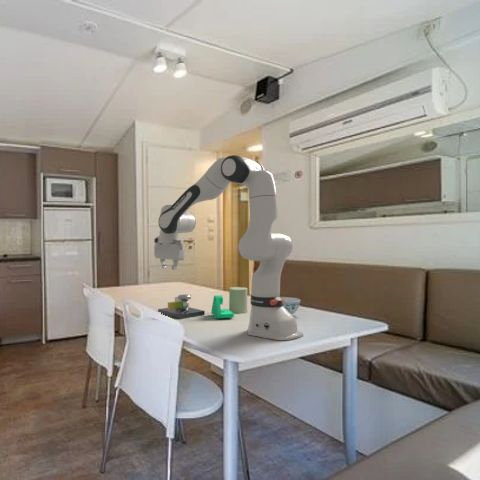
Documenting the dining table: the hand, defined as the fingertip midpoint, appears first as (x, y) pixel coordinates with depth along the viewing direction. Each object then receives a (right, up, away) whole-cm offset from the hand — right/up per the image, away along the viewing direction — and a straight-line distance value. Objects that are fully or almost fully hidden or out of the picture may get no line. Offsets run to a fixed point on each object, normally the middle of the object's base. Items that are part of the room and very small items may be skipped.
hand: (169, 268), depth 195 cm
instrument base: (+6, -22, +2) cm, 22 cm away
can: (+33, -22, +9) cm, 40 cm away
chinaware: (+54, -22, 0) cm, 59 cm away
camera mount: (+26, -22, -4) cm, 34 cm away
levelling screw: (+5, -19, -3) cm, 20 cm away
